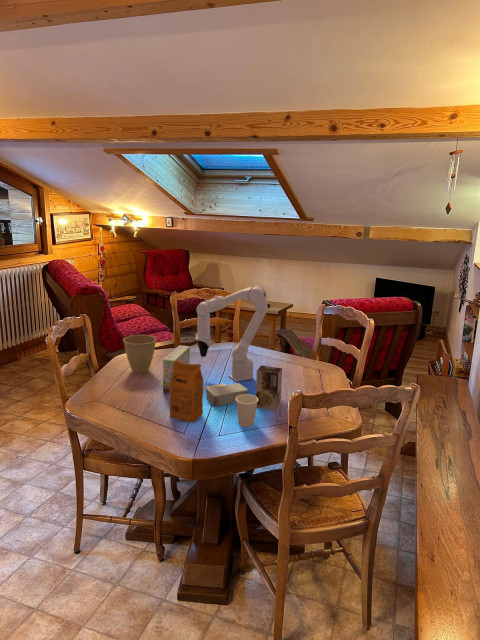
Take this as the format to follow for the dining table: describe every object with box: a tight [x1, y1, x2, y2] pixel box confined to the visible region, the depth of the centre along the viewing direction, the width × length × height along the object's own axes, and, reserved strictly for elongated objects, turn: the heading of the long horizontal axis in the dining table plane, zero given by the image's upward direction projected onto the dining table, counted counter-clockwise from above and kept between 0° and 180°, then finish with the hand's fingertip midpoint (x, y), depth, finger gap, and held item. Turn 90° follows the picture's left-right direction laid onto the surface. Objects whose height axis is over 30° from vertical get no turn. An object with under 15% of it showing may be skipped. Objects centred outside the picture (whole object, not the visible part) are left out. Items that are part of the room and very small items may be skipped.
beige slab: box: [206, 382, 249, 407], centre depth 191 cm, size 15×8×4 cm, turn 118°
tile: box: [204, 383, 226, 392], centre depth 197 cm, size 9×13×2 cm
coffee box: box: [255, 365, 283, 412], centre depth 184 cm, size 9×6×16 cm
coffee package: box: [168, 360, 204, 424], centre depth 173 cm, size 10×12×22 cm
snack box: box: [162, 345, 191, 394], centre depth 204 cm, size 21×6×15 cm, turn 168°
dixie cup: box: [235, 393, 258, 428], centre depth 170 cm, size 8×8×10 cm
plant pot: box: [123, 334, 157, 374], centre depth 218 cm, size 15×15×16 cm
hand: (203, 356), depth 215 cm, fingers closed
